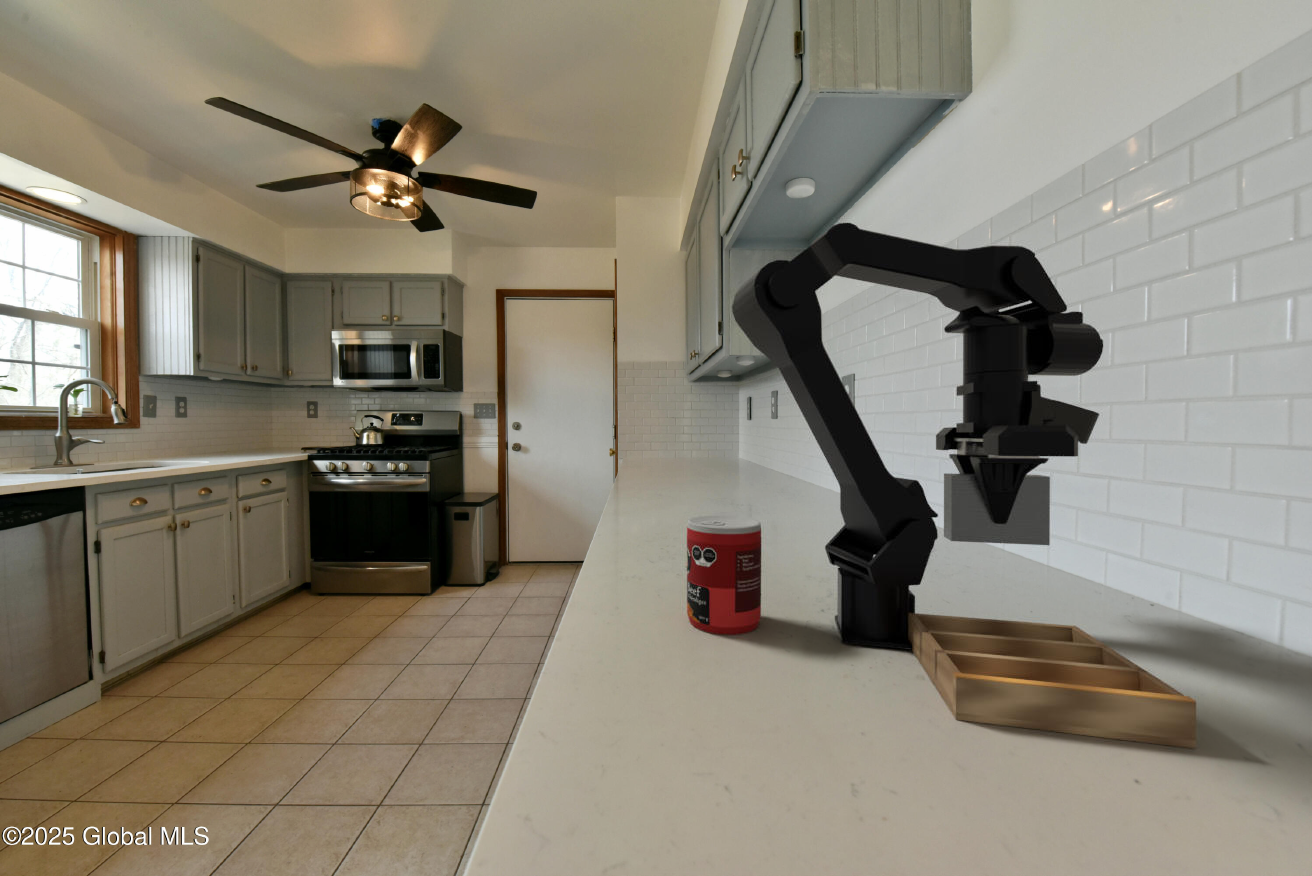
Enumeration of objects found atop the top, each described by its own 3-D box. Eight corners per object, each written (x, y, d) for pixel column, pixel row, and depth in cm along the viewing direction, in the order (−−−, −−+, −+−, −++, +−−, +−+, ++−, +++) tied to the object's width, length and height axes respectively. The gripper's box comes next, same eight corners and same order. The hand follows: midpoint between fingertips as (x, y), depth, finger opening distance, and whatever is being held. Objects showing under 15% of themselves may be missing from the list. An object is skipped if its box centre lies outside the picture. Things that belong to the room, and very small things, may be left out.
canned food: (685, 608, 58) (685, 515, 58) (754, 609, 57) (754, 515, 57) (688, 635, 50) (688, 527, 50) (767, 636, 50) (767, 528, 50)
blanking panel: (951, 541, 52) (951, 475, 52) (943, 536, 55) (943, 473, 55) (1049, 545, 50) (1049, 476, 50) (1037, 540, 53) (1037, 474, 53)
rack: (955, 719, 35) (956, 676, 35) (907, 643, 48) (907, 611, 48) (1195, 748, 32) (1196, 701, 32) (1075, 658, 45) (1075, 624, 45)
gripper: (1151, 358, 41) (1150, 544, 42) (1036, 381, 60) (1036, 510, 60) (1001, 363, 44) (1000, 538, 44) (934, 383, 62) (934, 507, 62)
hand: (994, 521), depth 52 cm, fingers closed on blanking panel, 2 cm apart
